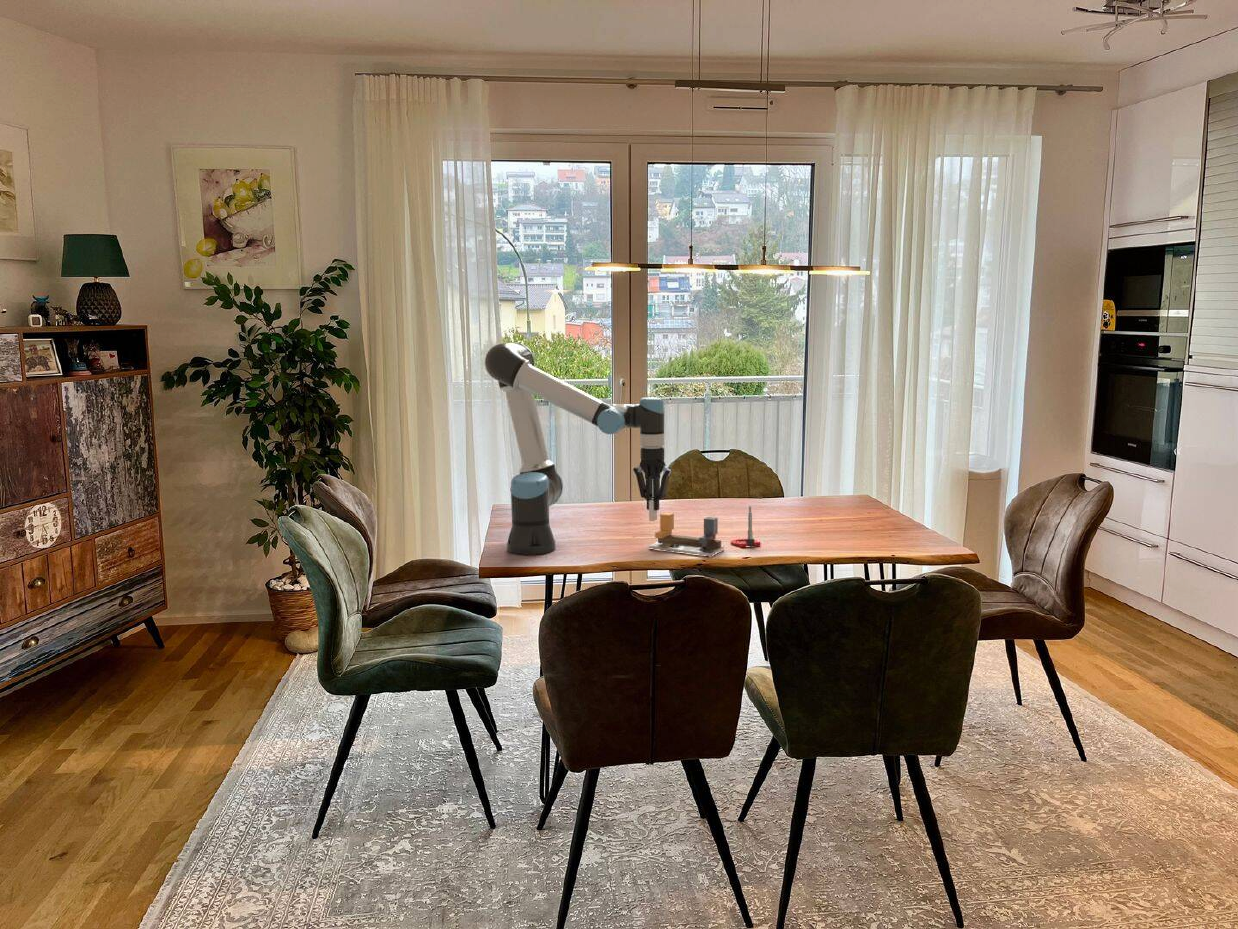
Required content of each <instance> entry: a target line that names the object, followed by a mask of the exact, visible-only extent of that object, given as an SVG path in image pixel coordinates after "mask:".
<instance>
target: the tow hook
mask: <svg viewBox="0 0 1238 929" xmlns="http://www.w3.org/2000/svg"><path fill="white" fill-rule="evenodd" d="M747 517H748V518H747V521H748V522H747V524H748V526H747V538H736V539H731V541H730V544H731V545H732V544H733V546H736V547H737V546H738V547H740V546H741V547H745V548H747V547H746V546H755V547H761V542H760V541H758V540H756V539H755V538H754V537H753V513H752V506H748V516H747ZM737 541H746V542H737ZM741 547H740V548H741Z"/></svg>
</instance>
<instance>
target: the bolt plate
mask: <svg viewBox="0 0 1238 929" xmlns="http://www.w3.org/2000/svg"><path fill="white" fill-rule="evenodd" d="M699 538H700V537H695V536H694V537H693V536H689V535H688V536H686V535H680V534H679V535H677V534H671V535H668V536H666V537H664V538H662V543H658V541H656V542H654V543H652V544H650V545H648V548H653V549H660V550H666V551H674V552H684V553H691V554H699V555H706V556H712V555H713V554H715V553H716V552H719V551H721V550H722V549H724V548H725V546H723V545H722V539H714V540H713V541H711V542H709V543H707V544H706V548H705V549H703V548H702V543H699ZM648 548H647V549H648ZM721 552H722V551H721ZM719 553H720V552H719ZM712 557H713V556H712Z"/></svg>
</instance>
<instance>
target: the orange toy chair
mask: <svg viewBox="0 0 1238 929" xmlns="http://www.w3.org/2000/svg"><path fill="white" fill-rule="evenodd" d="M674 524H675V513H673V512H663V513H660V514H659V525H660V526H659V530H657V531H656V532H654V539H657V542H658V543H662V538H664V537H666V536H668V535H673V530H674V529H675V527H674V526H675V525H674Z"/></svg>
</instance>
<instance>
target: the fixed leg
mask: <svg viewBox="0 0 1238 929" xmlns="http://www.w3.org/2000/svg"><path fill="white" fill-rule="evenodd" d="M718 519H719V518H718V517H715V516H713V517H712V516H707V517H705V518H703V535H702V536H700V537H698V538H699V543H702V548H703V549H705V548H706V544H707V543H709V542H711V541H713V540H717V539H716V535H717V534H718V533H719V532H718V527H719V526H718V524H719V522H718V521H719V520H718Z"/></svg>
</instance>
